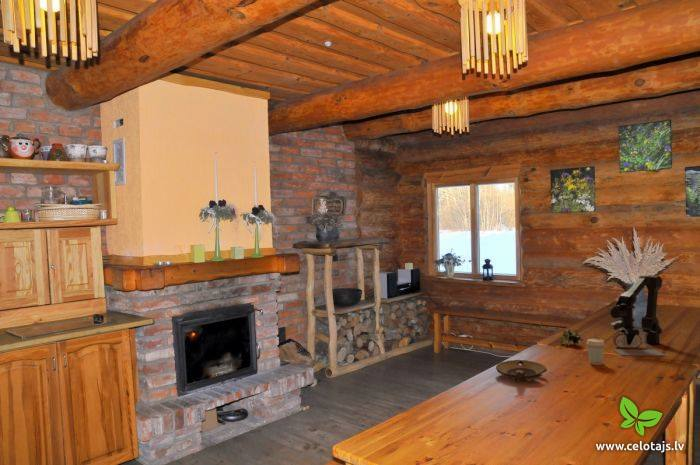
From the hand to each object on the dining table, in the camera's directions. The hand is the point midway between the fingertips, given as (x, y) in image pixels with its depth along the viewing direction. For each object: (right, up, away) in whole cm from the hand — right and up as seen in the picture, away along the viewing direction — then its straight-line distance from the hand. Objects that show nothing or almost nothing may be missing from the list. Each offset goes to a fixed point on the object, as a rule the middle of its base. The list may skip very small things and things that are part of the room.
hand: (627, 344), depth 296 cm
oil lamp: (-79, -5, -53) cm, 96 cm away
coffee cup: (-33, -3, -31) cm, 46 cm away
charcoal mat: (-1, -2, -13) cm, 13 cm away
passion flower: (-29, -3, +8) cm, 30 cm away
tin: (0, -2, 0) cm, 2 cm away
